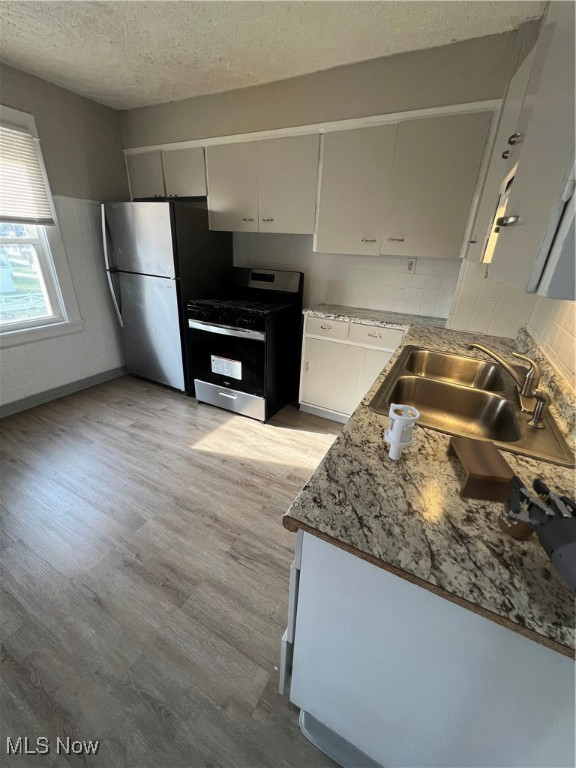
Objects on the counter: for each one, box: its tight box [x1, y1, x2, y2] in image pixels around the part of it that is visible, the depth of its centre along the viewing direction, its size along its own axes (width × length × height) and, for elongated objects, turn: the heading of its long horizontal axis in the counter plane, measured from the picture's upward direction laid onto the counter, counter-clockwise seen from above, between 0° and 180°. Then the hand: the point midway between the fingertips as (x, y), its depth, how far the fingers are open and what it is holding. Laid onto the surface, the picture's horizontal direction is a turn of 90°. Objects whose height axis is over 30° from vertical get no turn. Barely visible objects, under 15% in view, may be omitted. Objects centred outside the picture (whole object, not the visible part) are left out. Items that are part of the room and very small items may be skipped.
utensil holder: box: [497, 477, 550, 540], centre depth 61 cm, size 6×6×12 cm
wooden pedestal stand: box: [445, 436, 518, 504], centre depth 75 cm, size 10×14×7 cm
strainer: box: [384, 402, 421, 461], centre depth 80 cm, size 7×7×15 cm
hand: (524, 480), depth 62 cm, fingers open, 3 cm apart
